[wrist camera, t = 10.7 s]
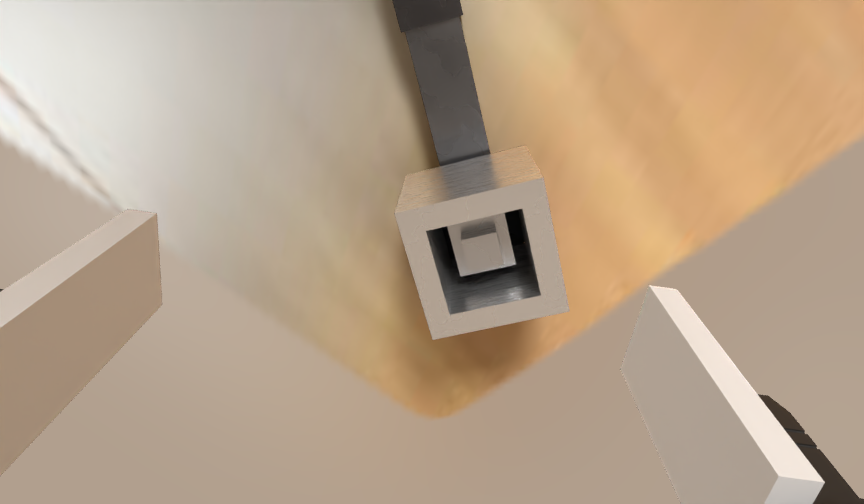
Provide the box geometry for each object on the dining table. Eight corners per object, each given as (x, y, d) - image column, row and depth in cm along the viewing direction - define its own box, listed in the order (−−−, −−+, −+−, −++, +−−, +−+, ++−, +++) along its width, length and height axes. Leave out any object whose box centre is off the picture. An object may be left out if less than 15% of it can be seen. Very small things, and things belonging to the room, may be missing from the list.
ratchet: (348, -77, 31) (311, -108, 23) (463, -113, 30) (466, -159, 22) (440, 257, 38) (437, 319, 30) (535, 235, 37) (556, 294, 29)
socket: (406, 174, 33) (394, 213, 26) (525, 145, 32) (543, 177, 26) (436, 281, 35) (432, 340, 29) (548, 256, 34) (569, 311, 28)
